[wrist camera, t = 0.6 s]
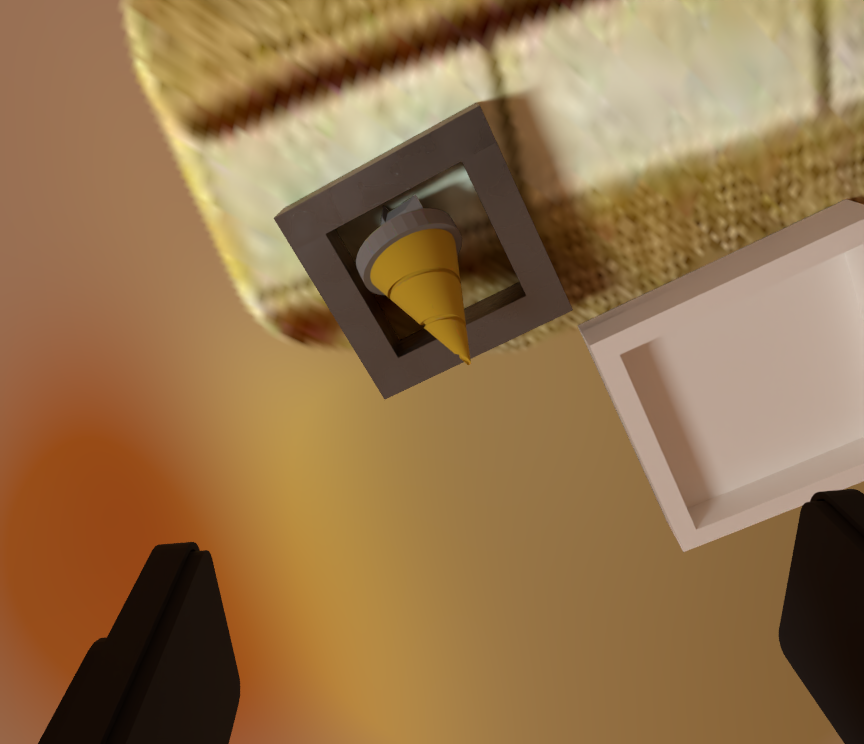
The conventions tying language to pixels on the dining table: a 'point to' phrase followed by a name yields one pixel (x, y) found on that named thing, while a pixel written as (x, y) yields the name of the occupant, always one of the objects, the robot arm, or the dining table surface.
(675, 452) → the tray
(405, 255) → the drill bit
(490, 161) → the socket collar
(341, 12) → the dining table surface
